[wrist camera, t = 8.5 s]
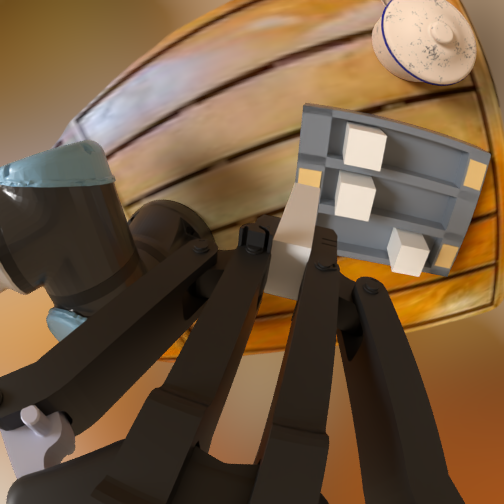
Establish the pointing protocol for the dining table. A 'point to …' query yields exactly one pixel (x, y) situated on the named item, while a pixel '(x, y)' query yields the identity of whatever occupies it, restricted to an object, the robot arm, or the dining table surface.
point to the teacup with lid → (424, 41)
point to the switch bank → (394, 185)
